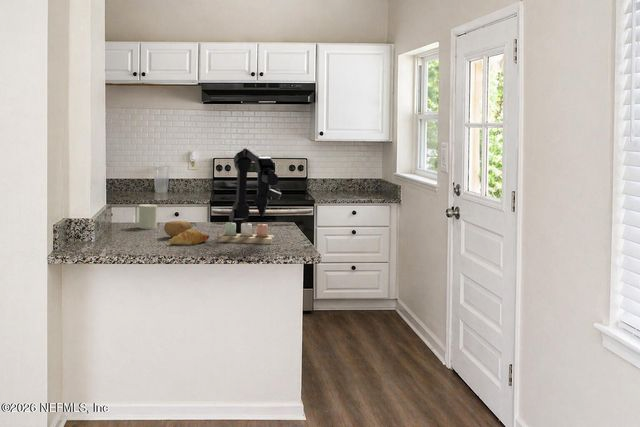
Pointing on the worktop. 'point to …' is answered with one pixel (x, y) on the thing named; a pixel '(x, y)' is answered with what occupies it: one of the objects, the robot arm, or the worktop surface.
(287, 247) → the worktop surface
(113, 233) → the worktop surface
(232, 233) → the key one
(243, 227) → the key two
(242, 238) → the board
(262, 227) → the key three
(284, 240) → the worktop surface
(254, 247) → the worktop surface
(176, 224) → the potato
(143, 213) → the can
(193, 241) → the croissant
